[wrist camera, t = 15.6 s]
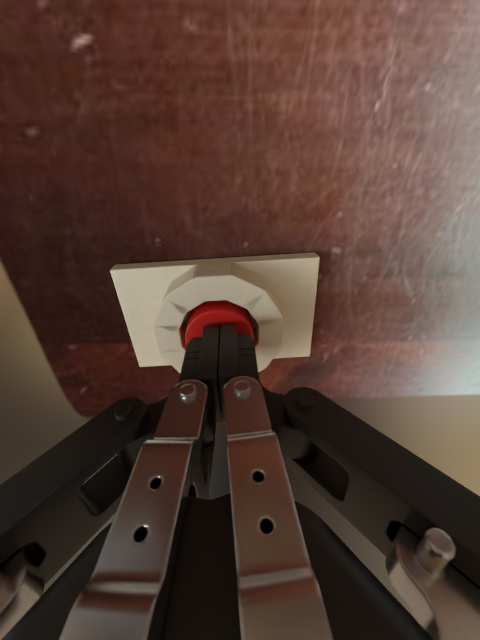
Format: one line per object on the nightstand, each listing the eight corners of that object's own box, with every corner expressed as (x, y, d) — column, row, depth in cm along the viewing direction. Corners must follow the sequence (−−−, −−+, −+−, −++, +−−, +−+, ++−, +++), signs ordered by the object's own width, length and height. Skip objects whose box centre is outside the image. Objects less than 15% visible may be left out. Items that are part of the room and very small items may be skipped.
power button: (193, 350, 15) (190, 369, 14) (184, 297, 13) (179, 312, 12) (252, 346, 15) (254, 364, 14) (250, 292, 13) (252, 308, 12)
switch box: (143, 359, 17) (130, 389, 15) (115, 263, 14) (94, 283, 12) (306, 348, 17) (318, 377, 15) (315, 250, 14) (331, 268, 12)
